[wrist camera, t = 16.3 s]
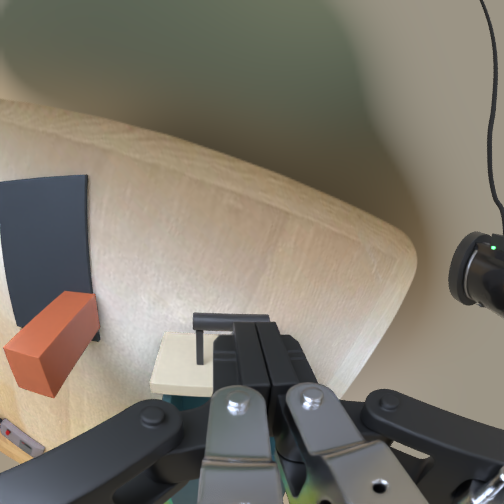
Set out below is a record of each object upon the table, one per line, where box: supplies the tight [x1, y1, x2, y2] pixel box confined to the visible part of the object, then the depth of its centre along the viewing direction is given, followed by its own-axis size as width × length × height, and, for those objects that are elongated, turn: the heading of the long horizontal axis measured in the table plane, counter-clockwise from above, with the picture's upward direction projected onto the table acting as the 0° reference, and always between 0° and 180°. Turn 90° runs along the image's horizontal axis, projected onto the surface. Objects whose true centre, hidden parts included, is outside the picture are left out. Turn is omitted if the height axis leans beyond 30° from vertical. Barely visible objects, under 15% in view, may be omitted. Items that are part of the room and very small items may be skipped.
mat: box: [0, 175, 100, 342], centre depth 25 cm, size 18×13×1 cm
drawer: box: [149, 313, 275, 455], centre depth 25 cm, size 18×13×8 cm
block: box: [3, 291, 100, 398], centre depth 20 cm, size 4×4×12 cm
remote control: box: [0, 418, 45, 458], centre depth 30 cm, size 7×16×3 cm, turn 52°
